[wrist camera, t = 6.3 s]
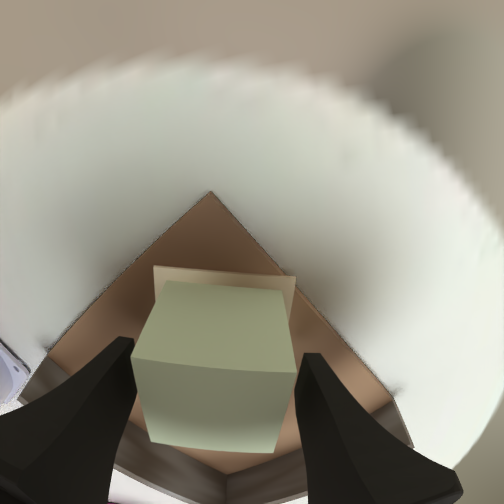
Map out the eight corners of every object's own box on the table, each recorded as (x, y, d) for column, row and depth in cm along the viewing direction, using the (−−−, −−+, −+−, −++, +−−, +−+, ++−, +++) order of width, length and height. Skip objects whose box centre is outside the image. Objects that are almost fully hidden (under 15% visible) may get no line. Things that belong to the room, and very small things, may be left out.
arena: (47, 354, 14) (16, 399, 11) (218, 184, 11) (203, 213, 7) (226, 474, 19) (225, 515, 16) (399, 395, 16) (420, 443, 12)
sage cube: (171, 364, 13) (150, 441, 9) (166, 280, 12) (130, 356, 7) (267, 372, 14) (273, 453, 9) (282, 290, 12) (297, 372, 8)
